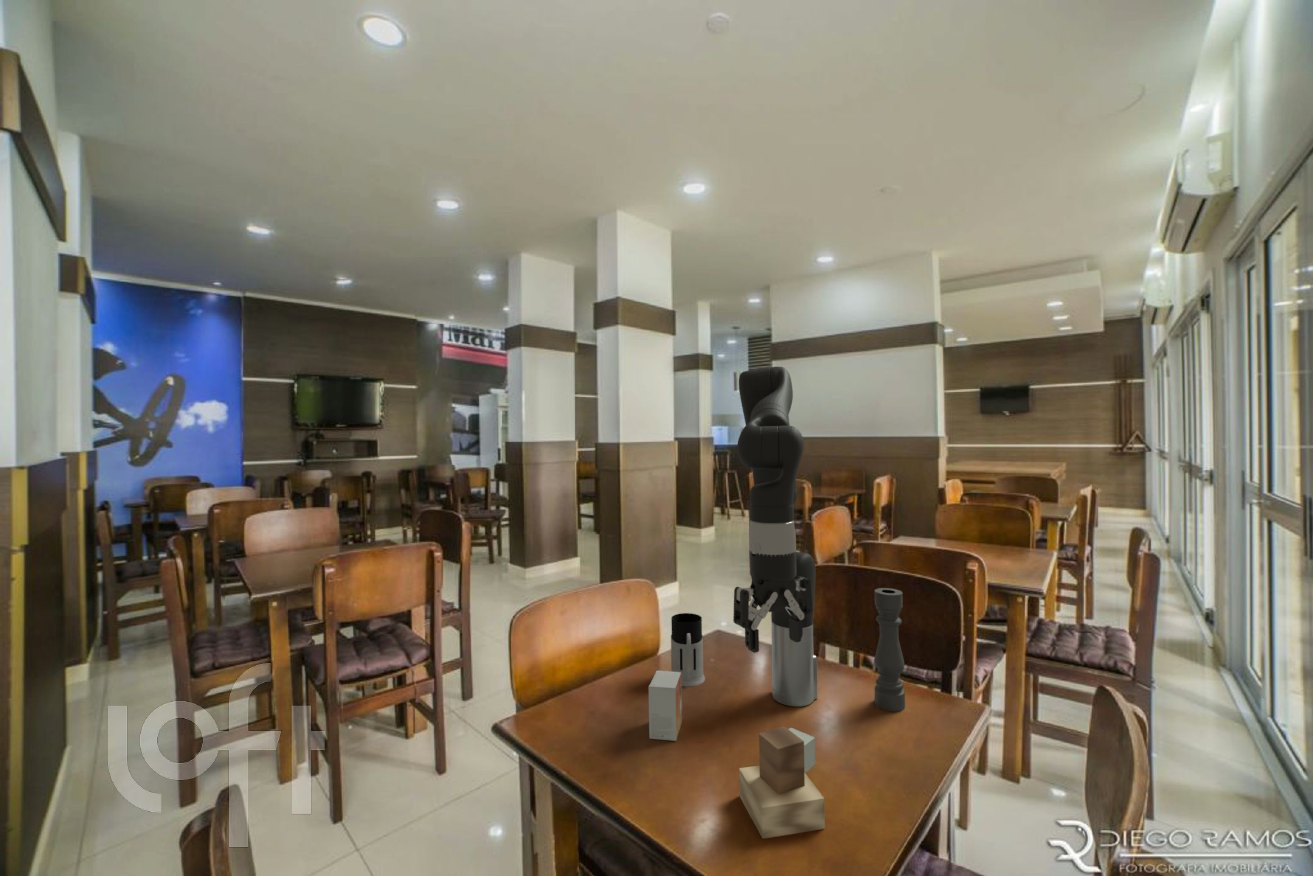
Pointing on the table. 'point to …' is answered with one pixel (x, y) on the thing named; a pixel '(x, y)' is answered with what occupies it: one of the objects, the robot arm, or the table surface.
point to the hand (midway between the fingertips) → (774, 645)
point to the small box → (665, 705)
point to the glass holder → (687, 648)
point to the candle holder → (889, 651)
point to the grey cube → (807, 749)
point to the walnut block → (781, 759)
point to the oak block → (780, 805)
